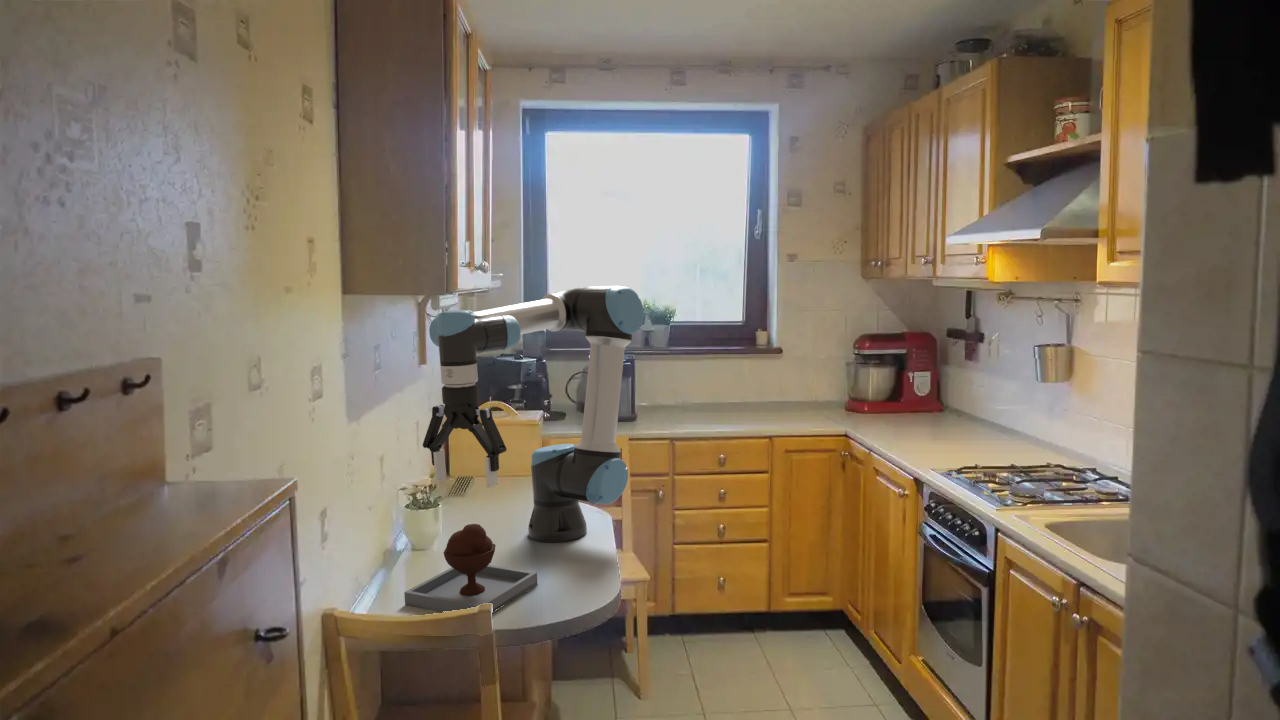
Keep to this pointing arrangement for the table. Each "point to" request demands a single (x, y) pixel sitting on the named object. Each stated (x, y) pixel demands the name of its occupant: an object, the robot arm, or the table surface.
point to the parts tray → (498, 591)
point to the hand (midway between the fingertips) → (466, 483)
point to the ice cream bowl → (470, 555)
